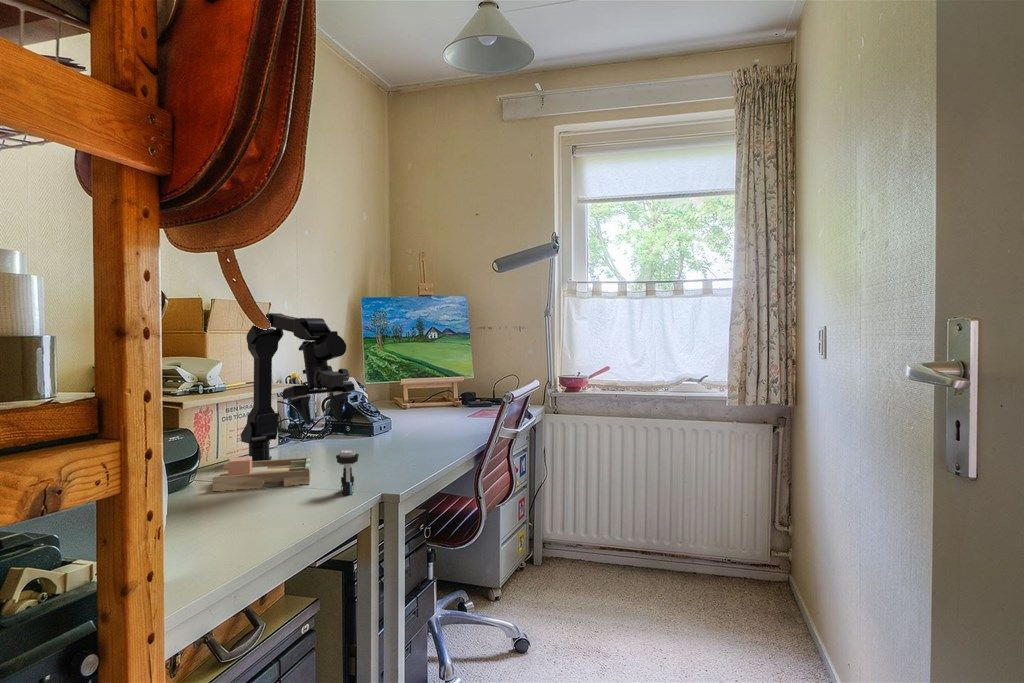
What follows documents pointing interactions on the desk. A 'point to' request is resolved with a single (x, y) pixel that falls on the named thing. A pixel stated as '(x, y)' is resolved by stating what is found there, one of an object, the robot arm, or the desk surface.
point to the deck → (267, 475)
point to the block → (240, 465)
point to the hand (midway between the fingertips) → (324, 422)
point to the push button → (347, 469)
